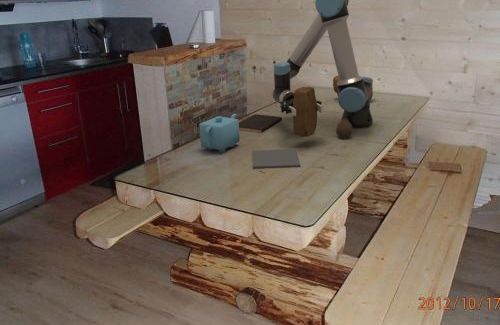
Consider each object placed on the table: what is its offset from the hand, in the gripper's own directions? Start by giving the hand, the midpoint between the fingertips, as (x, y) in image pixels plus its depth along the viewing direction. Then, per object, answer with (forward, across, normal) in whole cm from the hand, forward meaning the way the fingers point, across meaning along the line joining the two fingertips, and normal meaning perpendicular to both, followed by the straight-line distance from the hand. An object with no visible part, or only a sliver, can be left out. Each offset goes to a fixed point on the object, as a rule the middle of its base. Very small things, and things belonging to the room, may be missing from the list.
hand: (308, 111), depth 186 cm
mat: (+9, +18, -16) cm, 25 cm away
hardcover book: (-41, +10, -16) cm, 45 cm away
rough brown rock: (-62, -52, -16) cm, 82 cm away
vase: (-6, -19, -16) cm, 26 cm away
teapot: (-15, +34, -15) cm, 40 cm away
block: (-4, 0, -11) cm, 12 cm away
